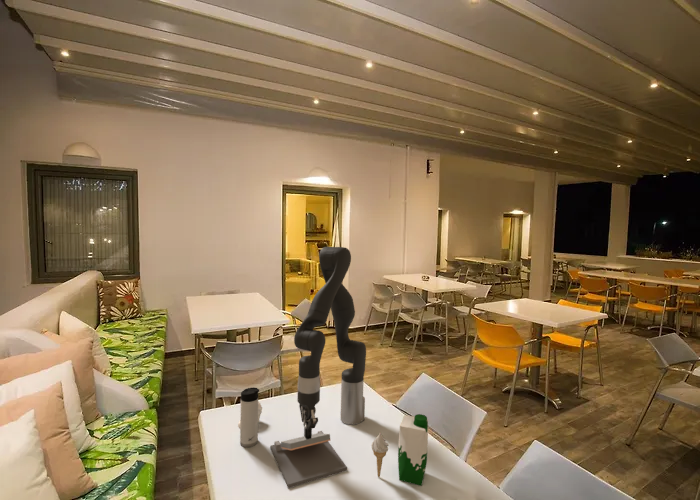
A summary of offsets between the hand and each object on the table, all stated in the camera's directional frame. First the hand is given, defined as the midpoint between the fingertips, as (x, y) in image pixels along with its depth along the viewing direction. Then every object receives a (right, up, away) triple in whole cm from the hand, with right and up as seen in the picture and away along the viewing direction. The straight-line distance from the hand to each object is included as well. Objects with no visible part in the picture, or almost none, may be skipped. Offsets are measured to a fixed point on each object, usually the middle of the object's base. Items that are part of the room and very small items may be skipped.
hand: (307, 437), depth 124 cm
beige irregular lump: (-26, -7, +21) cm, 35 cm away
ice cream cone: (+24, -9, -7) cm, 26 cm away
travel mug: (-23, -7, +10) cm, 26 cm away
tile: (-4, -5, +7) cm, 9 cm away
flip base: (0, -8, +1) cm, 8 cm away
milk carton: (+34, -10, -7) cm, 36 cm away
